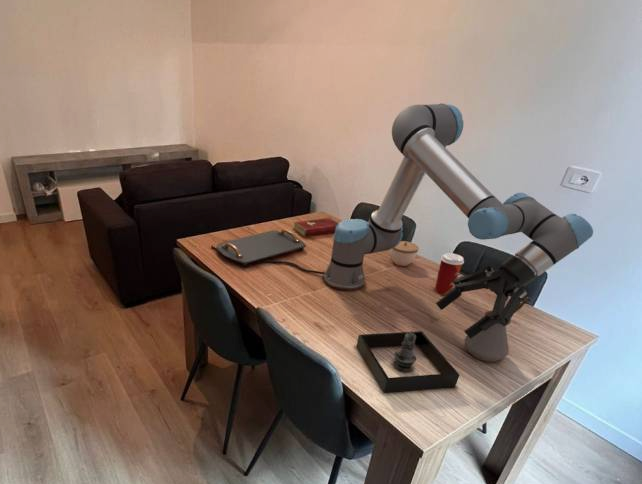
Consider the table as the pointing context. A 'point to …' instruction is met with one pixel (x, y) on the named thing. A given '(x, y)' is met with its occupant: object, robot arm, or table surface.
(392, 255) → the trinket box
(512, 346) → the table surface
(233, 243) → the serving tray
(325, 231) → the hardcover book
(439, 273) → the paper cup
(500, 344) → the coffee pot
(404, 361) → the chess piece
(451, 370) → the black square frame
